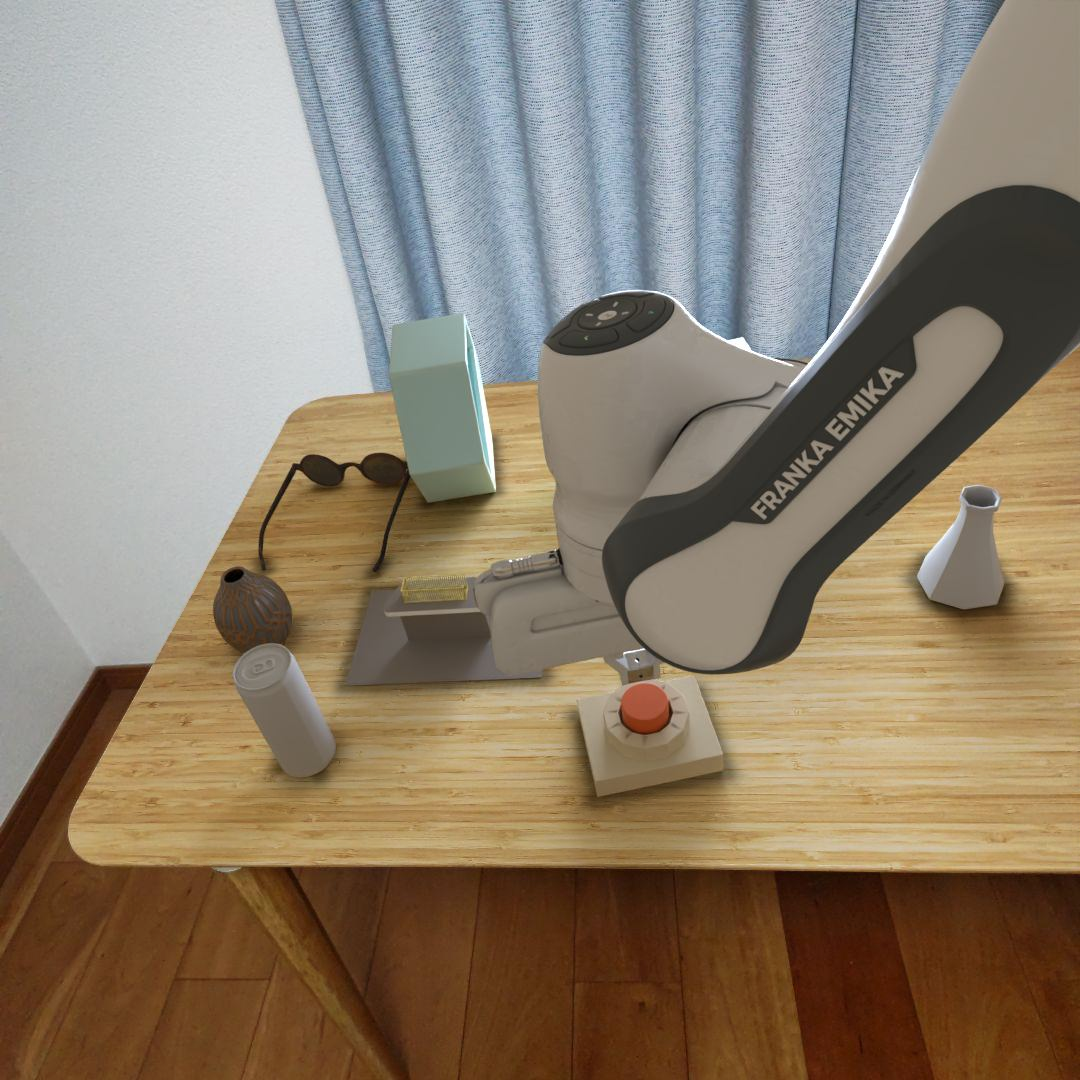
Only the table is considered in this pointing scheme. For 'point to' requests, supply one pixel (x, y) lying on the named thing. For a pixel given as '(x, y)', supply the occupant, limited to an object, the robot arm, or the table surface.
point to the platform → (425, 635)
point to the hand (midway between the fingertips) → (638, 675)
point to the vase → (251, 610)
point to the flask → (966, 555)
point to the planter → (442, 408)
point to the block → (649, 740)
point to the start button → (645, 708)
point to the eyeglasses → (331, 474)
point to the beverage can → (284, 709)
